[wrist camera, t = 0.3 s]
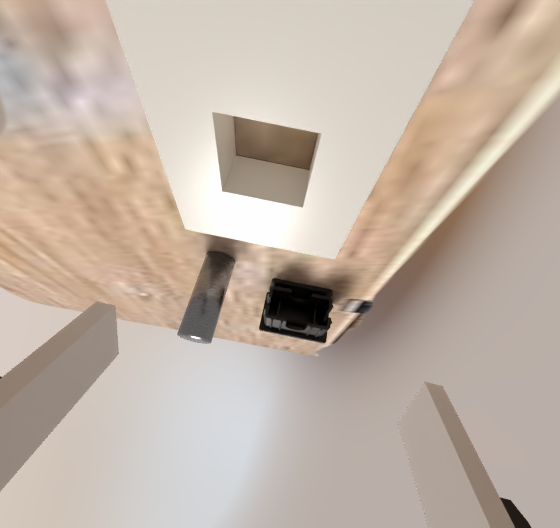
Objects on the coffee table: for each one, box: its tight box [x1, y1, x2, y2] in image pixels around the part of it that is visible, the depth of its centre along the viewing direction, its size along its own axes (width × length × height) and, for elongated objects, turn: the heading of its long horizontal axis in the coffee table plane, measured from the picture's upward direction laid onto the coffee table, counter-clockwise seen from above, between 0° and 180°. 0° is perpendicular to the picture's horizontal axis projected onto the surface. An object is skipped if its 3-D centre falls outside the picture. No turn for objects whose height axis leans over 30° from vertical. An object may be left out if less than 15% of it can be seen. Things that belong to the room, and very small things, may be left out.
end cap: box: [259, 279, 333, 343], centre depth 41 cm, size 10×7×7 cm
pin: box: [177, 251, 235, 344], centre depth 35 cm, size 4×4×11 cm
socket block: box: [106, 0, 474, 260], centre depth 18 cm, size 18×14×4 cm
